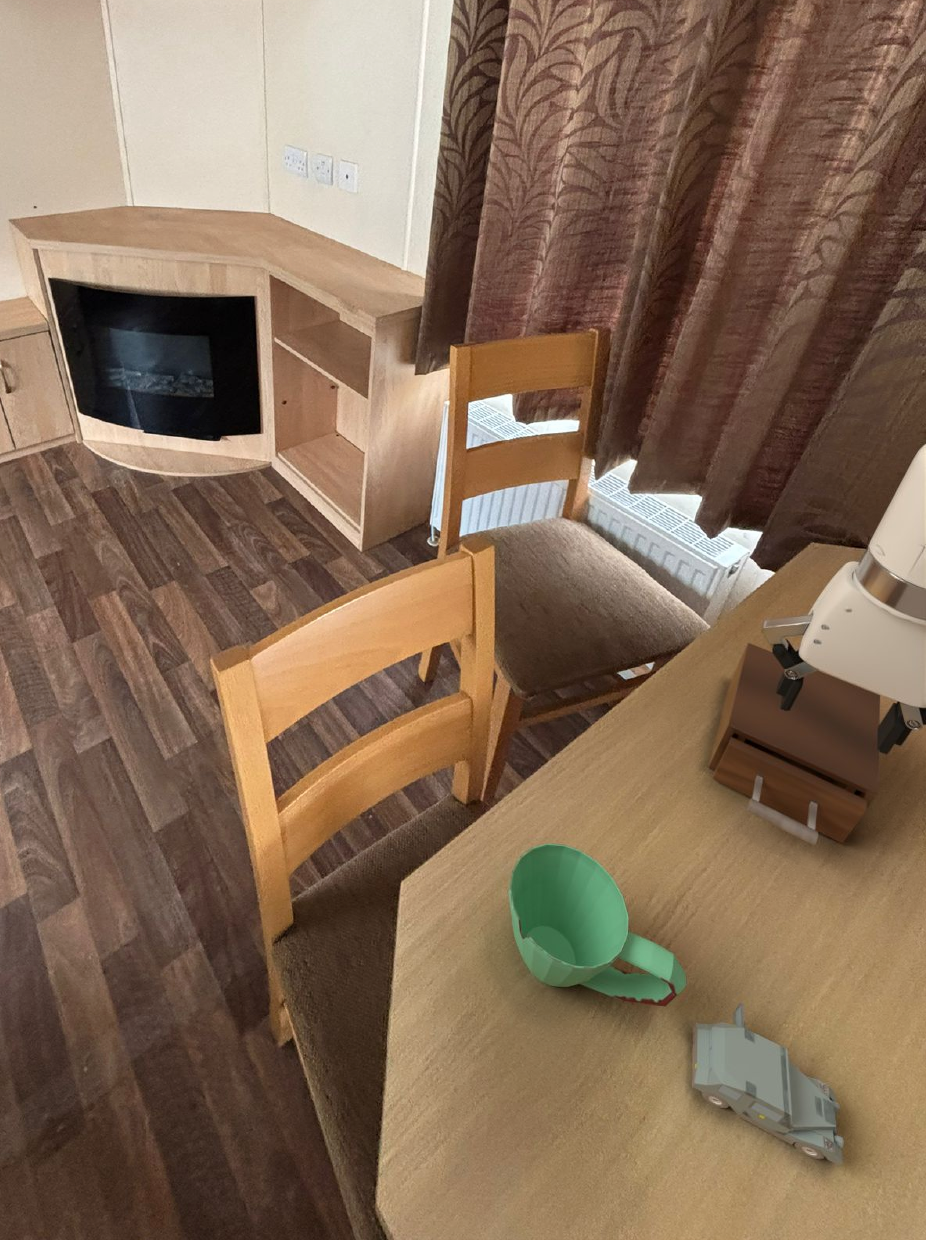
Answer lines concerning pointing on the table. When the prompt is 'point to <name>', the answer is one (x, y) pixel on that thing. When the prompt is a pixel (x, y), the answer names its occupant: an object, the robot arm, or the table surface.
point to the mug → (584, 929)
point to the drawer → (789, 792)
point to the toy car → (765, 1087)
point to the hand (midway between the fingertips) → (832, 719)
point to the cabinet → (804, 722)
